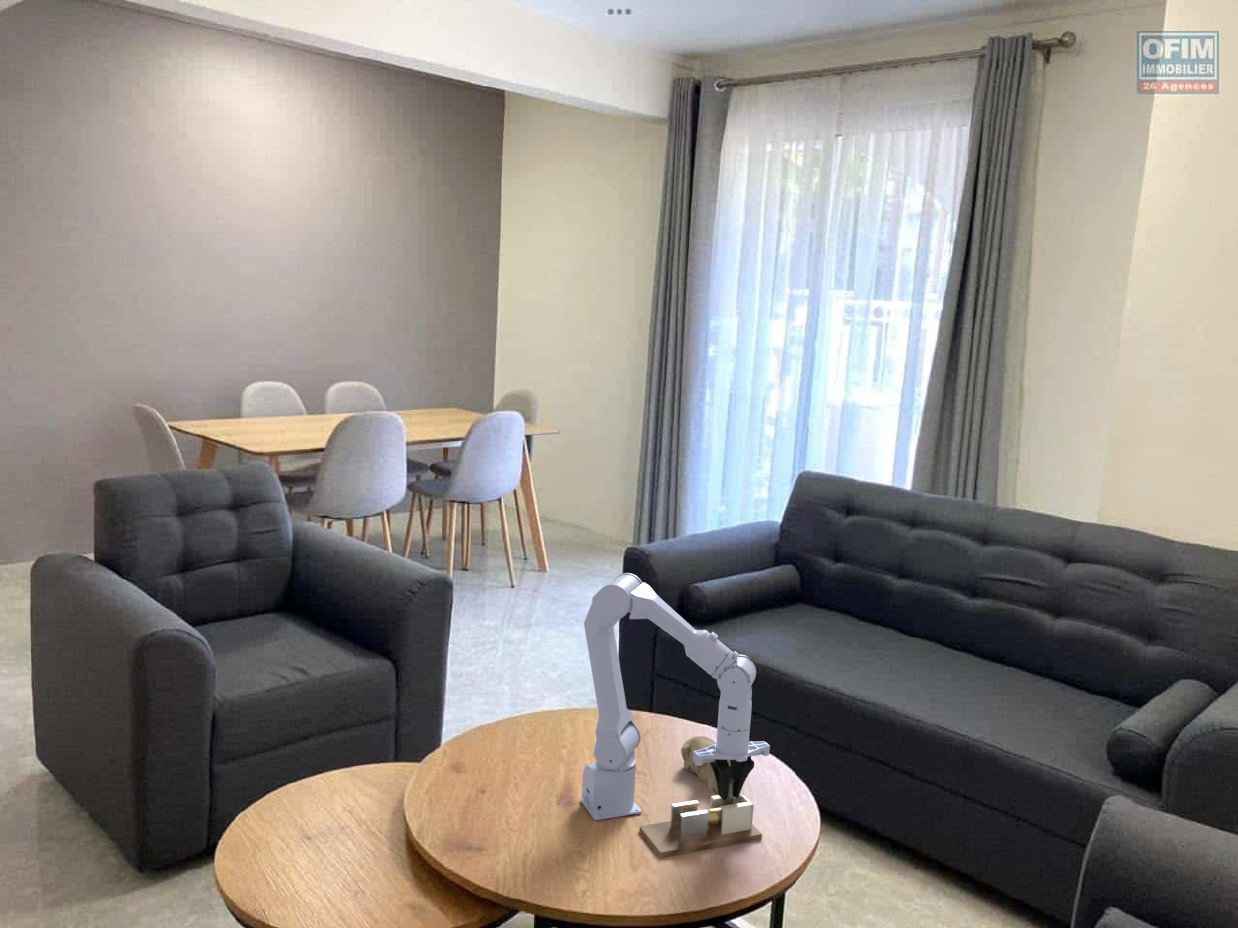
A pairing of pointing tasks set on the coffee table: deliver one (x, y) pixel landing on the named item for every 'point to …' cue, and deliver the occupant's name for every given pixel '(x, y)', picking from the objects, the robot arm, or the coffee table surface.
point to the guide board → (691, 832)
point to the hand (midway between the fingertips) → (728, 796)
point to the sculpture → (705, 769)
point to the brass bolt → (716, 812)
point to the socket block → (734, 814)
